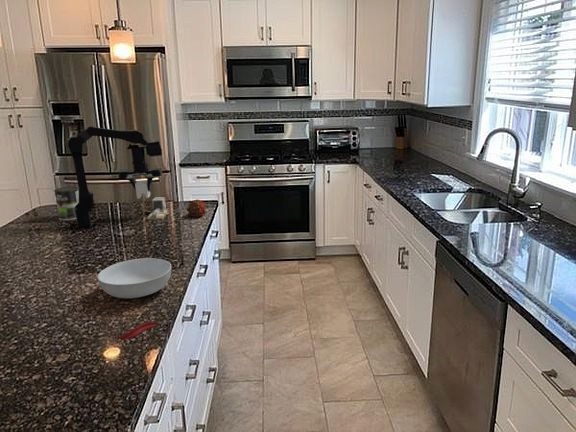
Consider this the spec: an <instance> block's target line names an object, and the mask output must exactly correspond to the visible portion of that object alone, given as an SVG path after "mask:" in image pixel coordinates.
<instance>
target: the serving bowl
mask: <svg viewBox="0 0 576 432" xmlns="http://www.w3.org/2000/svg"><path fill="white" fill-rule="evenodd" d="M171 274H172V264H171V262H170V261H167V260H165V259H161V258H154V257H153V258H151V257H143V258H142V257H141V258H135V259H128V260H124V261H120V262H117V263H114V264H112V265H109V266H107V267H106V268H104V269H102V270H101V271H100V272H99V273H98V275H97V280H98V284H99V286H100V287H101V289H102V290H103V291H104V293H106V294H107V295H110V296H112V297H115V298H118V299H137V298H143V297H146V296H149V295H152V294H154V293H156V292H159V291H160V290H161V289H162V288H164V287H165V286H166V285H167V283H168V282H169V280H170V279H171Z"/></svg>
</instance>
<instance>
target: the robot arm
mask: <svg viewBox="0 0 576 432" xmlns="http://www.w3.org/2000/svg"><path fill="white" fill-rule="evenodd" d="M92 137H103V138H107V139H108V138H109V139H117V140H122V141H125V142H128V144H127V145H126V147H125V149H126V150H130V153H131V154H130V155H131V160H132V161H131V163H132V170H133V171H130V170H128V169H126V170H121V171H119V172H118V179H122V180H123V179H126V181H128V182H129V183H130V184H131V186H132V187H133V188H134V191H136V187H135V183H136V182H137V180H136V179H137V178H136V176H137V177H138V176H147V177H146V179H147V180H146V181H147V184H148V191H150V192H151V187H152V182H153V179H154V178H156V177H161V176H162V175H163V174H164V173H163V169H162V168H161V167H158V168H152V169H151V170H150V169H149V168H150V166H149V165H150V164H149V163H148V162H147V160H146V156H148V157H149V158H152V157H154V158H155V157H162V155H163V150H162V147H161V142H160V141H159V140H155V141H149V142H148V141H147V140H146V139H145V138H144V135H143V133H142V132H141V131H139V130H136V129H125V130H119V129H111V128H104V127H96V126H93V125H89V126H87V127H86V128H85V129H84V130H82V131H80V132H79V133H77V135H72V136H70V137H69V138H67V143H66V144H67V146H68V149H69V152H70V154H71V157H72V159H73V165H74V169H75V174H76V175H75V176H76V181H77V188H78V193H79V203H78V204H77V205H76V206H75V213H76V219H75V220H76V226H74V229H88V228H89V229H90V228H91V227H92V226H93V225H94V224H95V223H94V222H92V221H91V215H90V214H91V213H90V211H91V210H92V208H94V204H95V203H96V202H95V198H94V192H93V191H92V190H91V191H89V188H88V182H87V178H86V173H85V171H86V170H85V166H84V160H83V146H84V144H85V143H86V142H88V140H90V139H91V138H92ZM139 144H140V145H139Z"/></svg>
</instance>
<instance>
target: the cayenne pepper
mask: <svg viewBox="0 0 576 432" xmlns="http://www.w3.org/2000/svg"><path fill="white" fill-rule="evenodd" d="M160 324H161V322H156V321H148V322H145V323H142V324H140V325H138V326H136V327H134V328H133V329H132V330H130V331H129V332H127V333H126V334H124V335H121V336H118V337H117V339H123V340H127V339H128V340H129V339H132V338H135V337H137V336H139V335H141V334H142V333H143V332H145V331H147V330H149V329H151V328H154V327H156V326H158V325H160Z"/></svg>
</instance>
